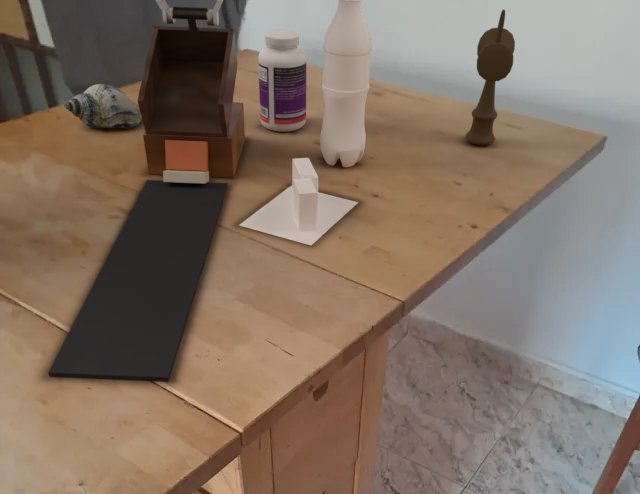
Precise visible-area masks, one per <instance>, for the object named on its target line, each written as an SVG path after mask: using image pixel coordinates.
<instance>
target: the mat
mask: <svg viewBox="0 0 640 494" xmlns="http://www.w3.org/2000/svg"><path fill="white" fill-rule="evenodd" d="M228 185H229V184H228V183H227V182H207V183H205V184H199V183H175V182H164V180H159V179H158V180H157V179H146V181H145V183H144V185H143V187H142V189H141V191H140V193H139V195H138V197H137V199H136V200H135V202H134V205H133V206H132V208H131V210H130V213H129V214H128V216H127V218H126V220H125V222H124V224H123V226H122V228H121V230H120V232H119V234H118V235H117V237H116V240H115V242H114V243H113V245H112V248H111V249H110V251H109V253H108V255H107V257H106V259H105V261H104V263H103V265H102V267H101V269H100V271H99V273H98V275H97V277H96V279H95V280H94V282H93V285H92V286H91V289H90V290H89V292H88V294H87V296H86V298H85V300H84V302H83V304H82V306H81V307H80V309H79V312H78V314H77V316H76V317H75V320H74V322H73V323H72V325H71V327H70V329H69V331H68V333H67V335H66V337H65V339H64V341H63V342H62V345H61V346H60V348H59V350H58V352H57V354H56V357H55V359H53V362H52V364H51V366H50V367H49V370H48V371H47V373H48V376H49V377H60V378H61V377H62V378H85V379H105V380H106V379H109V380H129V381H130V380H133V381H153V382H155V381H157V382H169V381H170V378H171V374H172V371H173V368H174V365H175V361H176V359H177V355H178V351H179V349H180V345H181V341H182V339H183V335H184V333H185V329H186V327H187V322H188V318H189V315H190V312H191V309H192V305H193V302H194V300H195V296H196V292H197V288H198V286H199V282H200V279H201V276H202V272H203V269H204V265H205V263H206V260H207V256H208V253H209V249H210V246H211V243H212V239H213V236H214V233H215V229H216V226H217V223H218V219H219V217H220V213H221V210H222V206H223V203H224V200H225V196H226V193H227V191H228V187H229V186H228Z"/></svg>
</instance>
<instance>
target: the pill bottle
mask: <svg viewBox="0 0 640 494" xmlns="http://www.w3.org/2000/svg"><path fill="white" fill-rule="evenodd" d="M264 43H265V46H266V47H265V48H263V49H261V50H260V52H259V54H258V57H257V62H258V64H257V65H258V67H257V68H258V85H259V86H258V91H259V94H258V95H259V117H260V118H259V119H260V120H259V121H260V123H261V125H262V126H263V127H265V128H266V129H267V130H269V131H275V132H281V133H282V132H283V133H287V132H294V131H297V130H299V129H302V128H303V127H304V126H305V124H306V122H307V56H306V53H305V51H303V50H302V49H301V48H300V47H298V46H299V45H300V35H299V33H298V32H296V31H292V30H286V29H285V30H284V29H283V30H282V29H280V30H276V29H275V30H271V31H267V32H266V33H265V34H264Z"/></svg>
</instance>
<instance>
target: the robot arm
mask: <svg viewBox="0 0 640 494" xmlns="http://www.w3.org/2000/svg"><path fill="white" fill-rule="evenodd" d="M223 2H224V0H216V2H215V4H214V6H213V8H211V9H209V8H208V11H207V18H208V20H206V24H207V26H212V27H218V26H219V24H220V18H219V17H220V15H219V11H220V9H221V7H222V4H223ZM155 3H156V4H157V5H158V7H159V9H160V11H162V12H161V14H162V21H163V24H165V25H166V24H167V25H174V24H175V23H176V20H177V19H174V17H173V7H170V6H169V5H168V3H167V1H166V0H155Z"/></svg>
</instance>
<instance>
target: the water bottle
mask: <svg viewBox="0 0 640 494" xmlns="http://www.w3.org/2000/svg"><path fill="white" fill-rule="evenodd" d="M362 9H363V8H362V0H338V4H337V8H336V12H335V14H334V15H333V18H332V19H331V22H330V24H329V26H328V28H327V30H326V32H325V35H324V38H323V43H322V49H323V60H322V82H321V90H322V97H323V118H322V125H321V130H320V134H319V146H320V151H321V154H322V157H323V159H324V161H325V163H326V164H327V165H329V166H331V167H333V166H334V165H336V163H337V162H338V160H340V163H341V165H342V167H343V168H351V167H353V166H354V165H356V163H360V161H361V159H362V158H363V156H364V152H365V148H366V139H367V134H366V127H365V111H366V103H367V98H368V94H369V90H370V87H371V85H370V74H371V73H370V72H371V59H372V52H373V40H372V35H371V32H370V29H369V26H368V24H367V21H366V19H365V16H364V14H363V10H362Z"/></svg>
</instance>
